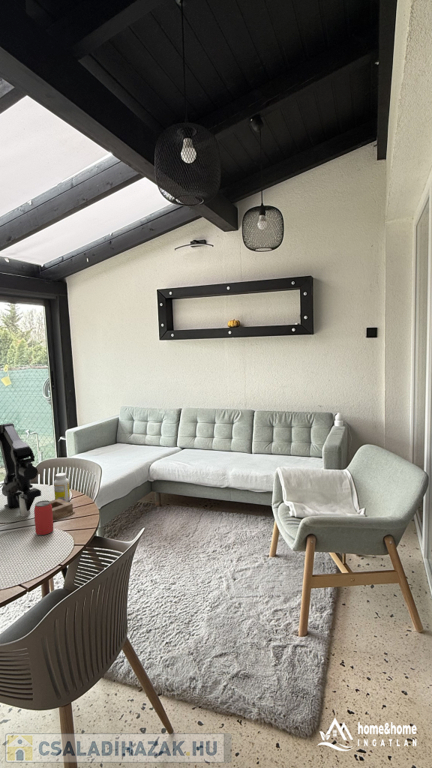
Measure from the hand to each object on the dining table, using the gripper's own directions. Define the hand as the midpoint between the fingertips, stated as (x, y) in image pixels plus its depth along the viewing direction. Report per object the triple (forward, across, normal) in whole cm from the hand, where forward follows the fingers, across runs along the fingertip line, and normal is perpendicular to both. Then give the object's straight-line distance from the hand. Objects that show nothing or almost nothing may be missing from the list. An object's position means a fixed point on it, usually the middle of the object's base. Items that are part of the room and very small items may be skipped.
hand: (25, 509), depth 181 cm
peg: (+2, 0, 0) cm, 2 cm away
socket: (+2, +10, +8) cm, 13 cm away
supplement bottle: (+3, -1, +19) cm, 19 cm away
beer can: (+3, +23, -4) cm, 24 cm away
